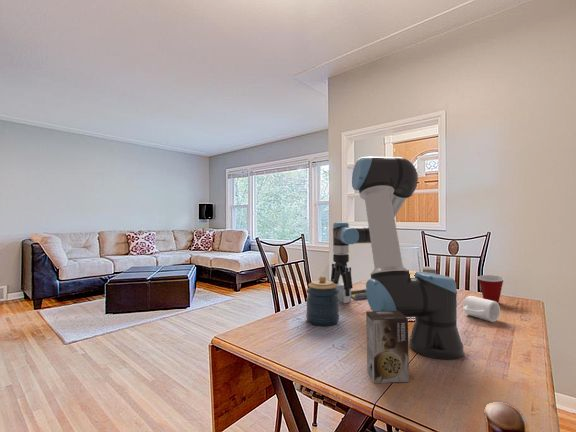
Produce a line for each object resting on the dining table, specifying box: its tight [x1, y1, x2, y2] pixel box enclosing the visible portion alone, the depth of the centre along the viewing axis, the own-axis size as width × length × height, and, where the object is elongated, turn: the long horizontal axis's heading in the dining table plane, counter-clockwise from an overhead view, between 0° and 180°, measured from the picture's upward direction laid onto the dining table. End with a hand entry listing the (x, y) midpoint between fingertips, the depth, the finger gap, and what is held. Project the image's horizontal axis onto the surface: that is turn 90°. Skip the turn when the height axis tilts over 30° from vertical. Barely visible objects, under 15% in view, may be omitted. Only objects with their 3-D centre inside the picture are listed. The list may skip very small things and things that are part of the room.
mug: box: [462, 295, 501, 323], centre depth 121 cm, size 12×10×8 cm
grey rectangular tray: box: [351, 288, 367, 301], centre depth 156 cm, size 17×8×2 cm, turn 113°
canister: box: [305, 275, 340, 327], centre depth 120 cm, size 13×13×18 cm
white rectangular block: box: [336, 282, 352, 303], centre depth 148 cm, size 9×4×8 cm, turn 113°
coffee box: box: [365, 310, 410, 384], centre depth 79 cm, size 9×6×16 cm
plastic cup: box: [476, 274, 505, 304], centre depth 144 cm, size 11×11×12 cm
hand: (341, 300), depth 148 cm, fingers open, 8 cm apart
